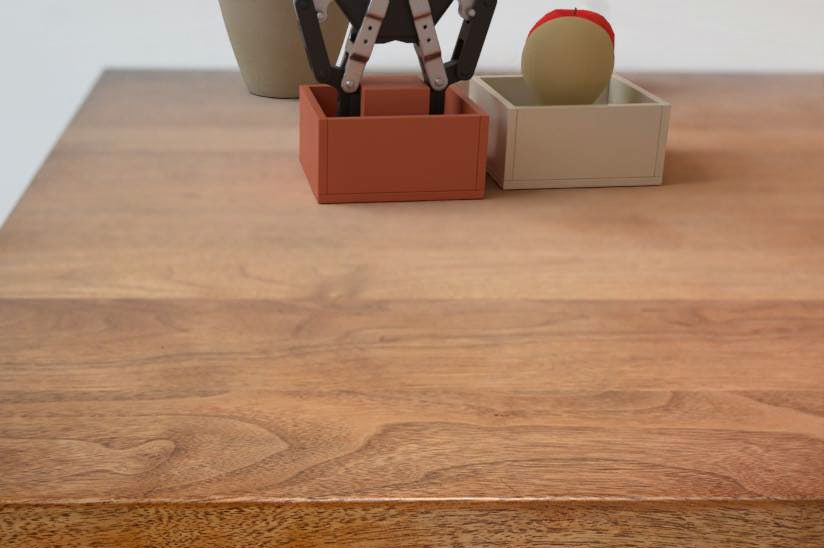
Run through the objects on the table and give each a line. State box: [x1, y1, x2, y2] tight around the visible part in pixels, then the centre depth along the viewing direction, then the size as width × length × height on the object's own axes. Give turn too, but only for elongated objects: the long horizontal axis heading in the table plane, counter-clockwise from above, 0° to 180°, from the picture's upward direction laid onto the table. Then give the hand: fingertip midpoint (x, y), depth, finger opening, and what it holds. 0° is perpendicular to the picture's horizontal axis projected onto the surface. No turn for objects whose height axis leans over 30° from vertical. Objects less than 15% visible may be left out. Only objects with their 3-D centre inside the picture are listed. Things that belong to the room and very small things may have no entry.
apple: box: [525, 6, 616, 49], centre depth 115 cm, size 8×8×7 cm
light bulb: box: [520, 17, 616, 106], centre depth 89 cm, size 6×6×10 cm
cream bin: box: [468, 72, 672, 191], centre depth 90 cm, size 11×11×6 cm
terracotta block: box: [358, 74, 430, 117], centre depth 87 cm, size 4×4×4 cm
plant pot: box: [217, 0, 350, 99], centre depth 113 cm, size 15×15×16 cm
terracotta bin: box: [298, 83, 489, 204], centre depth 87 cm, size 11×11×6 cm
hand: (389, 141), depth 87 cm, fingers closed on terracotta block, 4 cm apart
